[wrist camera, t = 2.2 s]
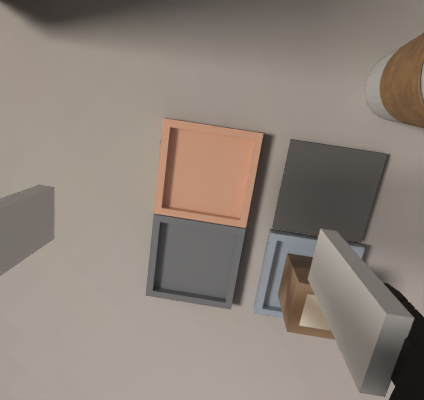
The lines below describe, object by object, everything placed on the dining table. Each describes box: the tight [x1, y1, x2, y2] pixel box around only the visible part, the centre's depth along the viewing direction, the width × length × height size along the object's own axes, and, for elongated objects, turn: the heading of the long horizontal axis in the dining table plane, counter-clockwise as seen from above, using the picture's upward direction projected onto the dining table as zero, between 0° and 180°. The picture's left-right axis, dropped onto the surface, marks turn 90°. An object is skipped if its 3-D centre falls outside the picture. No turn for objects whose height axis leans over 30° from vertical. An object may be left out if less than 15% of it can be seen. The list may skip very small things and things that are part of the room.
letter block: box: [278, 253, 335, 339], centre depth 30 cm, size 5×5×6 cm
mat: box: [272, 139, 387, 242], centre depth 31 cm, size 9×9×1 cm
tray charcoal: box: [146, 214, 246, 309], centre depth 33 cm, size 9×9×1 cm
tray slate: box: [254, 229, 365, 318], centre depth 33 cm, size 9×9×1 cm
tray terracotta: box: [154, 118, 263, 228], centre depth 30 cm, size 9×9×1 cm
